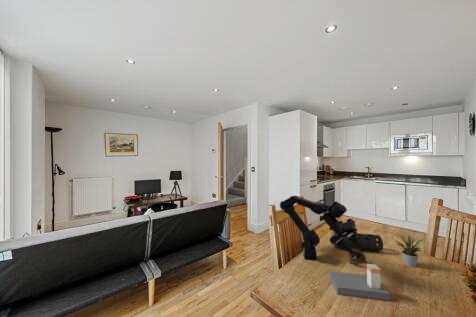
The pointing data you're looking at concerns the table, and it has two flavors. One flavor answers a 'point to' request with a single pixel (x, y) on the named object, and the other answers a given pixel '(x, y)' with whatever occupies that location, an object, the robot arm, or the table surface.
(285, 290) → the table surface
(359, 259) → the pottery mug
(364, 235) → the muzzle brake
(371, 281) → the plug
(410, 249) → the house plant
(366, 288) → the socket block
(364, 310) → the table surface
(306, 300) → the table surface
